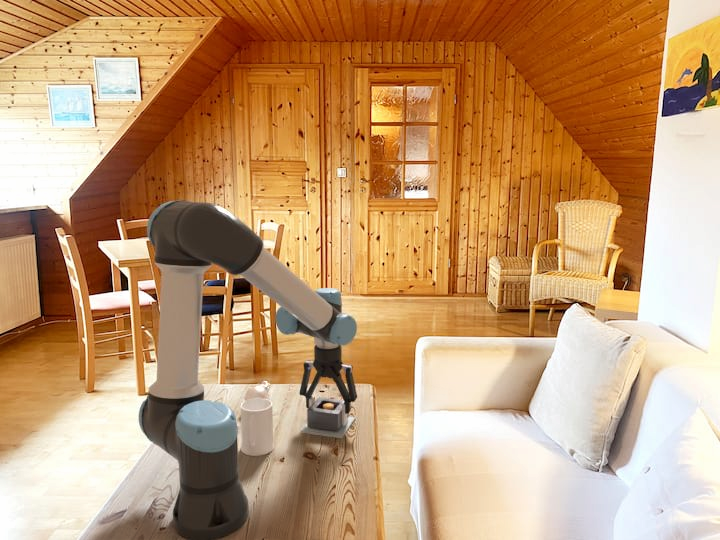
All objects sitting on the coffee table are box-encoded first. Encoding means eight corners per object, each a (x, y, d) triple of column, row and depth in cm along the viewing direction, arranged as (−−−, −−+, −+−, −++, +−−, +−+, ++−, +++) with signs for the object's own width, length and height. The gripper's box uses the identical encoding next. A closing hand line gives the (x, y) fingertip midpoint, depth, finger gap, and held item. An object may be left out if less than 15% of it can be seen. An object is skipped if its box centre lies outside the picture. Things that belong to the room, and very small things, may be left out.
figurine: (267, 370, 175) (258, 378, 160) (283, 386, 175) (276, 397, 160) (244, 393, 175) (232, 403, 160) (260, 409, 175) (250, 422, 160)
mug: (263, 464, 134) (261, 418, 131) (230, 461, 135) (228, 415, 133) (278, 441, 145) (277, 399, 143) (248, 438, 146) (247, 396, 144)
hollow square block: (338, 431, 148) (338, 414, 147) (307, 426, 151) (307, 409, 150) (348, 417, 157) (348, 400, 156) (319, 413, 159) (319, 397, 158)
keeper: (341, 438, 147) (341, 417, 145) (300, 432, 150) (300, 411, 149) (355, 419, 158) (355, 399, 157) (316, 414, 161) (316, 394, 160)
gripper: (369, 344, 150) (368, 420, 154) (296, 337, 156) (297, 410, 160) (361, 352, 143) (361, 432, 147) (285, 344, 149) (287, 421, 153)
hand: (328, 421), depth 154 cm, fingers closed on hollow square block, 9 cm apart
